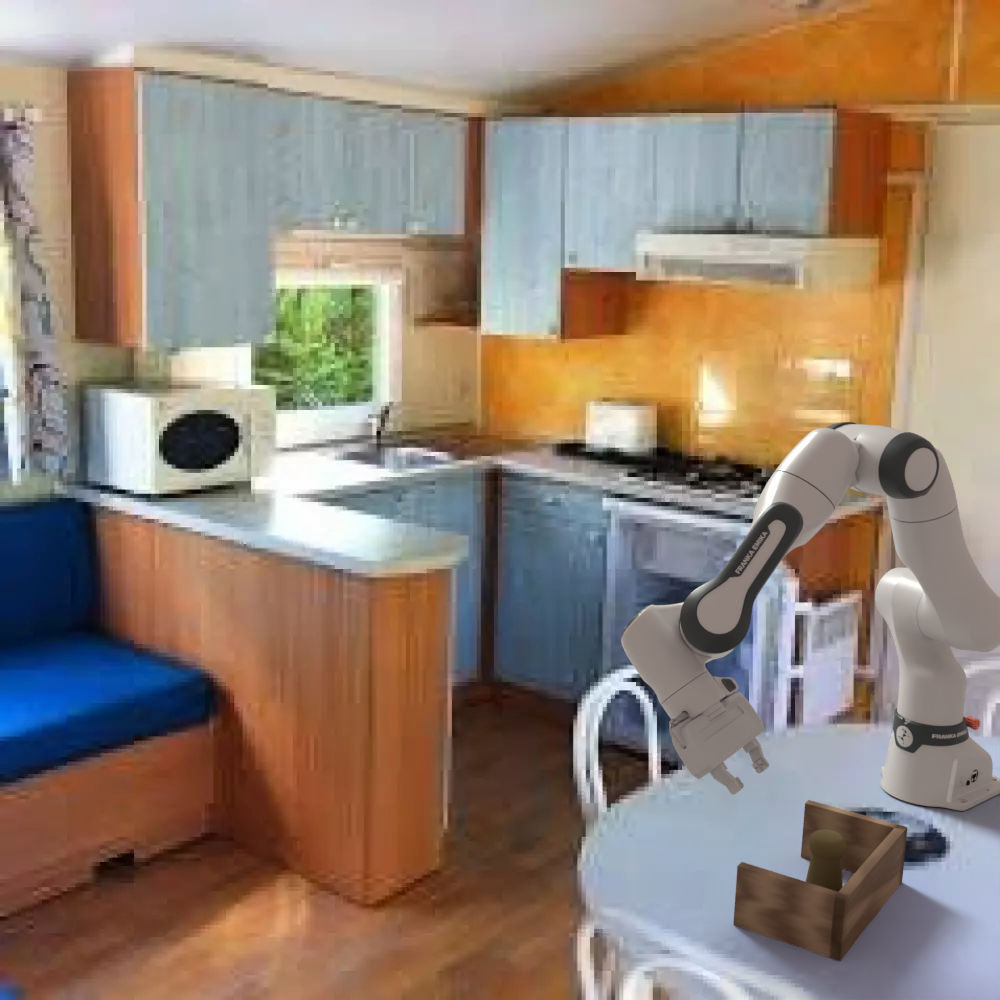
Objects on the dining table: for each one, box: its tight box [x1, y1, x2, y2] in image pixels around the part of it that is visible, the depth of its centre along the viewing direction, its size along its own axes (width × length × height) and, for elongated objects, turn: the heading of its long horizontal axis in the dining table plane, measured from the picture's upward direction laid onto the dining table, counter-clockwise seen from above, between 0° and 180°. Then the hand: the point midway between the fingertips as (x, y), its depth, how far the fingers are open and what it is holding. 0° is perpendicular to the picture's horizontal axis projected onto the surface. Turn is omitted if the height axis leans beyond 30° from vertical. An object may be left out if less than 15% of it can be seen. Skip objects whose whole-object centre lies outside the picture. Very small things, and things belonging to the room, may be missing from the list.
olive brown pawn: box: [805, 829, 846, 892], centre depth 187 cm, size 6×6×11 cm
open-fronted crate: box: [733, 799, 908, 962], centre depth 187 cm, size 16×27×9 cm, turn 146°
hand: (751, 780), depth 191 cm, fingers open, 8 cm apart
